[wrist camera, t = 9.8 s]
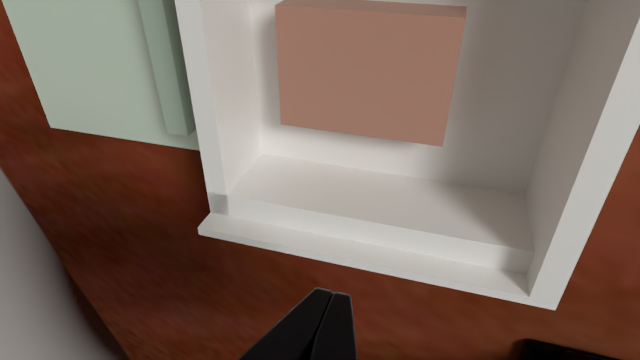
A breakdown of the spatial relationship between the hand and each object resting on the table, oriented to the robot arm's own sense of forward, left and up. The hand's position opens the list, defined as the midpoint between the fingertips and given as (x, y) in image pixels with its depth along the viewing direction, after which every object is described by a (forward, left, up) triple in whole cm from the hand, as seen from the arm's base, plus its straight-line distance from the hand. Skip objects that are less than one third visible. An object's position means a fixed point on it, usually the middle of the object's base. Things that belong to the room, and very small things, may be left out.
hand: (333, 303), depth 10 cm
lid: (+2, +15, -13) cm, 20 cm away
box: (+2, 0, -12) cm, 13 cm away
